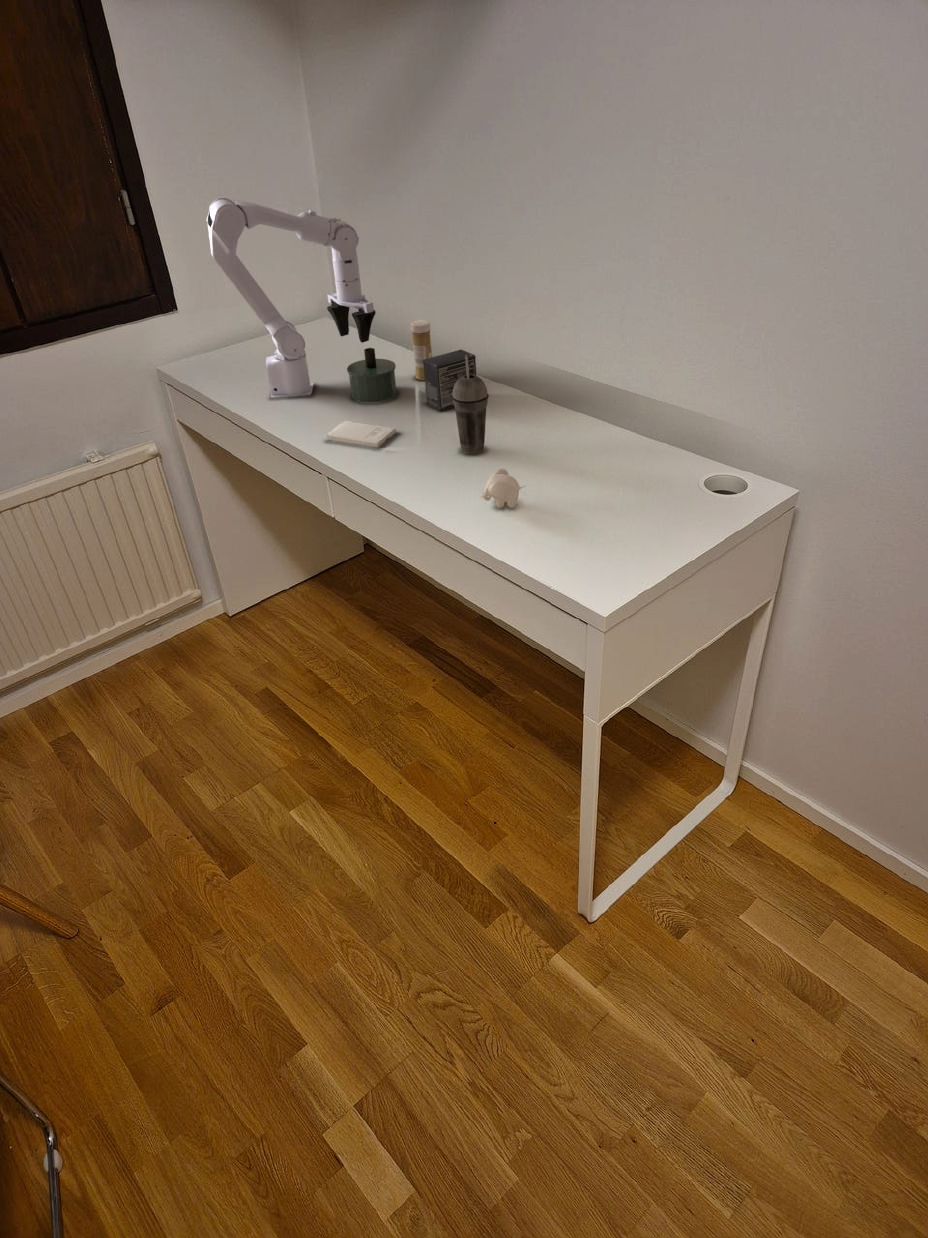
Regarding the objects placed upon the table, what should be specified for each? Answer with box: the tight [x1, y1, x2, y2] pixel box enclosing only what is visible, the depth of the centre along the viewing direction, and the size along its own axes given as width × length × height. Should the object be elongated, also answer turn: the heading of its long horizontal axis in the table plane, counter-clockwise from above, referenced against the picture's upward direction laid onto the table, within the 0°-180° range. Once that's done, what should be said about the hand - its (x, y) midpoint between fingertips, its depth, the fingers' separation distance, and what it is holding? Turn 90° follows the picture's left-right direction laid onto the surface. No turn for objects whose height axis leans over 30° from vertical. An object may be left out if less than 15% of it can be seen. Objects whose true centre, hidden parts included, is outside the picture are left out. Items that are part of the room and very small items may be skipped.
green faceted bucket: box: [348, 370, 397, 403], centre depth 201 cm, size 10×10×6 cm
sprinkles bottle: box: [410, 319, 433, 381], centre depth 207 cm, size 5×5×14 cm
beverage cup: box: [452, 355, 490, 456], centre depth 170 cm, size 7×7×20 cm
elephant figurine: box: [481, 468, 526, 509], centre depth 154 cm, size 7×8×6 cm
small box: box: [423, 349, 477, 412], centre depth 194 cm, size 11×6×10 cm, turn 123°
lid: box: [346, 347, 397, 377], centre depth 198 cm, size 11×11×5 cm
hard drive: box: [325, 420, 397, 450], centre depth 183 cm, size 2×8×12 cm
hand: (354, 338), depth 206 cm, fingers open, 7 cm apart
